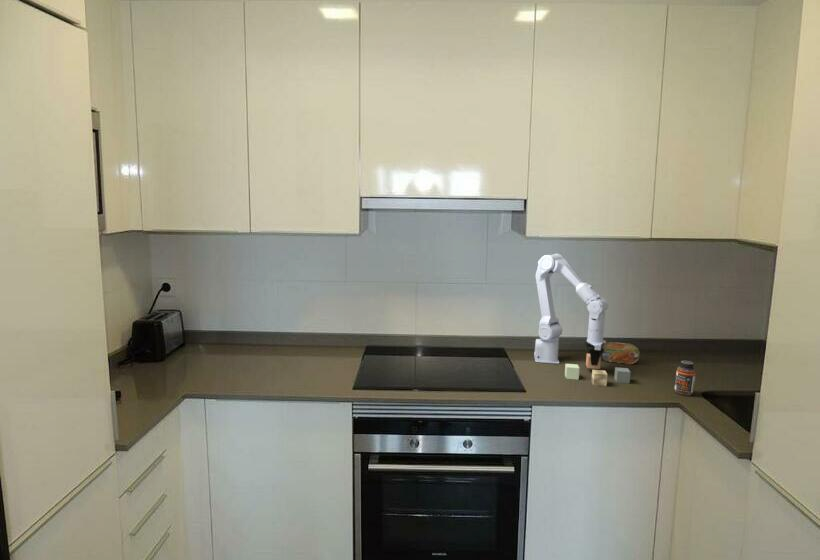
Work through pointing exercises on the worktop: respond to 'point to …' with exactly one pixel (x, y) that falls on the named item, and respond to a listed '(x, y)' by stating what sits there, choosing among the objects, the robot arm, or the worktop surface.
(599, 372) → the maple block
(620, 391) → the worktop surface
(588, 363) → the terracotta block
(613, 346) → the tin
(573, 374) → the sage block
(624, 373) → the slate block
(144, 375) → the worktop surface
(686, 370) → the supplement bottle
